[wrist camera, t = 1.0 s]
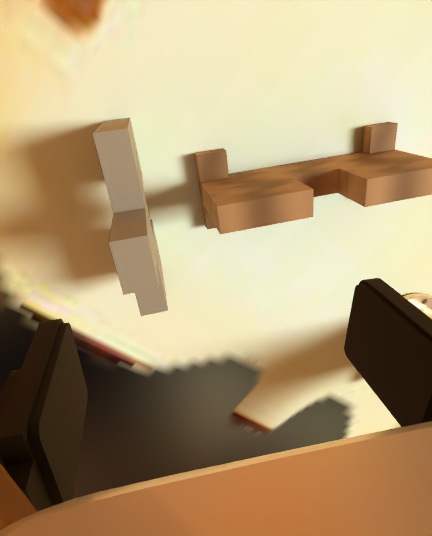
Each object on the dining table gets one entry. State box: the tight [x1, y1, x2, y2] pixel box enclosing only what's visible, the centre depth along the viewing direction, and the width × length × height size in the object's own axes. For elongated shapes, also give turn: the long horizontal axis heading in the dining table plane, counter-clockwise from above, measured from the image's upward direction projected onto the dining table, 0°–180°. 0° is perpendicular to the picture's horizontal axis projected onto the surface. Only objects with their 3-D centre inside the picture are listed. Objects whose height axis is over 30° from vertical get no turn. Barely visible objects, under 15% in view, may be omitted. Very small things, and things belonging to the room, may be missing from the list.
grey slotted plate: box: [92, 118, 168, 316], centre depth 31 cm, size 16×2×16 cm, turn 7°
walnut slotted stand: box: [195, 122, 432, 234], centre depth 36 cm, size 22×8×10 cm, turn 97°
